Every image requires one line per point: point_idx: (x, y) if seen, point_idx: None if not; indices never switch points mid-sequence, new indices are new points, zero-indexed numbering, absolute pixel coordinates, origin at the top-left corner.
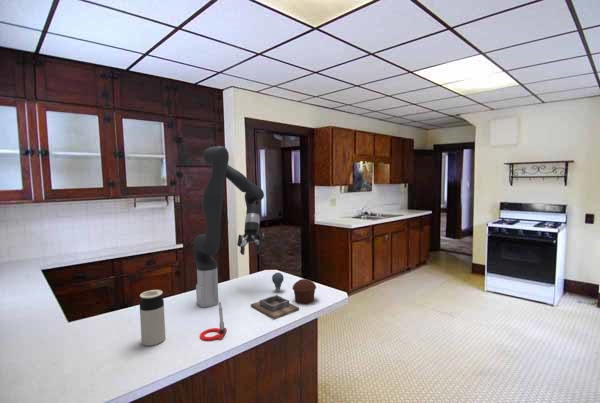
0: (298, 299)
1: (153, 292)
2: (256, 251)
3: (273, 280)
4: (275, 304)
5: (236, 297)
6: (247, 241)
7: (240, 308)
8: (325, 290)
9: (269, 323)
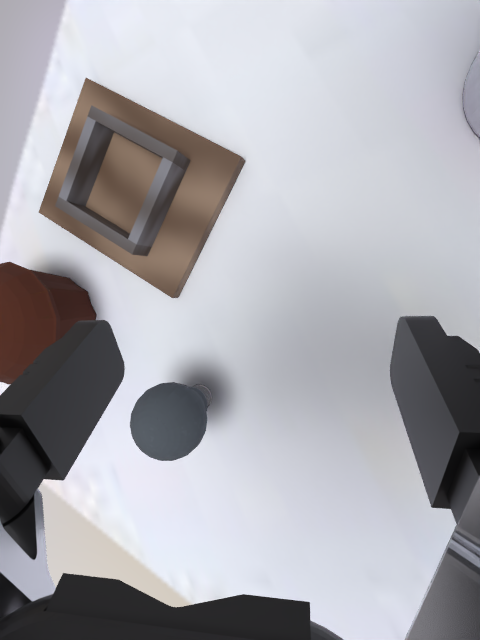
0: (57, 277)
1: None
2: (88, 326)
3: (184, 388)
4: (88, 136)
5: (392, 247)
6: (297, 618)
7: (286, 117)
8: None
9: (95, 44)
